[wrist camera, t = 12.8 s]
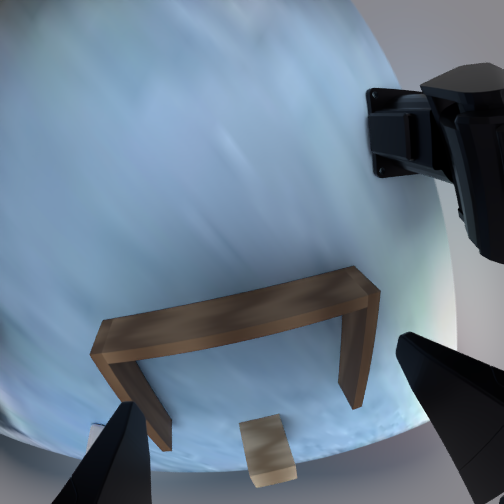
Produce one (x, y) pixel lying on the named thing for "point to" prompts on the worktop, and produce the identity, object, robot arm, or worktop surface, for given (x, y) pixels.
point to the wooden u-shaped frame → (239, 334)
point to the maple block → (267, 451)
